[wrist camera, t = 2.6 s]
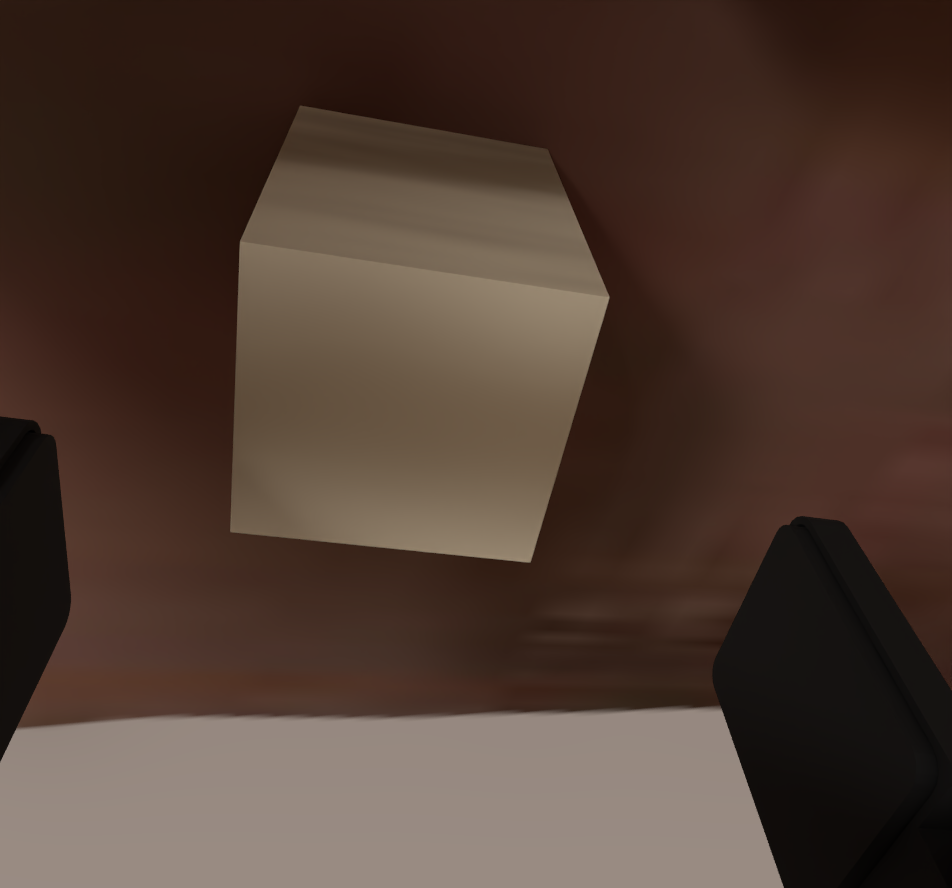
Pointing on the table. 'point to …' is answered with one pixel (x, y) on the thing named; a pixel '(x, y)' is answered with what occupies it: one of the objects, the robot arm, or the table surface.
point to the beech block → (408, 339)
